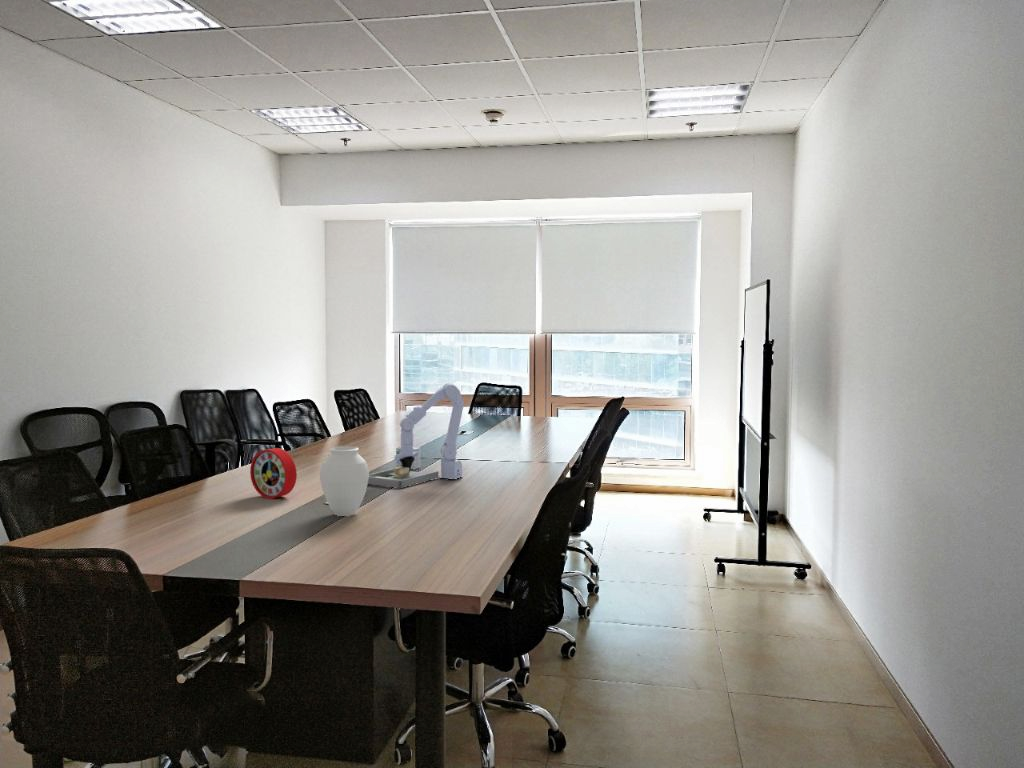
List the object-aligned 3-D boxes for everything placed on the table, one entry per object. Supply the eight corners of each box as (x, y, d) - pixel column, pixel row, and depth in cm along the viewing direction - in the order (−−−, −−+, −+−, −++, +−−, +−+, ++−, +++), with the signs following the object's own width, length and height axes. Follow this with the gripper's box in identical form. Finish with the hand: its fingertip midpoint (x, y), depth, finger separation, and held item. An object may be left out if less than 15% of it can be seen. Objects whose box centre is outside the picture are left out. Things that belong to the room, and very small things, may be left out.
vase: (321, 521, 276) (320, 452, 275) (319, 510, 293) (319, 445, 292) (371, 518, 281) (370, 450, 279) (367, 507, 298) (366, 443, 296)
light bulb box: (395, 469, 384) (395, 447, 383) (401, 466, 390) (401, 445, 390) (415, 470, 381) (415, 448, 380) (420, 468, 387) (420, 446, 387)
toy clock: (250, 496, 319) (249, 448, 318) (261, 493, 324) (260, 446, 323) (286, 501, 310) (285, 451, 308) (297, 498, 315) (296, 449, 313)
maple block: (409, 476, 354) (409, 467, 354) (402, 477, 350) (402, 469, 349) (400, 475, 356) (400, 466, 356) (393, 476, 352) (393, 468, 352)
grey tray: (438, 478, 359) (438, 471, 359) (400, 488, 335) (400, 480, 335) (401, 474, 370) (401, 466, 370) (361, 483, 346) (361, 475, 346)
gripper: (410, 441, 364) (410, 469, 365) (390, 445, 351) (390, 474, 352) (421, 442, 360) (421, 471, 361) (402, 446, 348) (402, 476, 349)
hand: (407, 473), depth 356 cm, fingers closed
